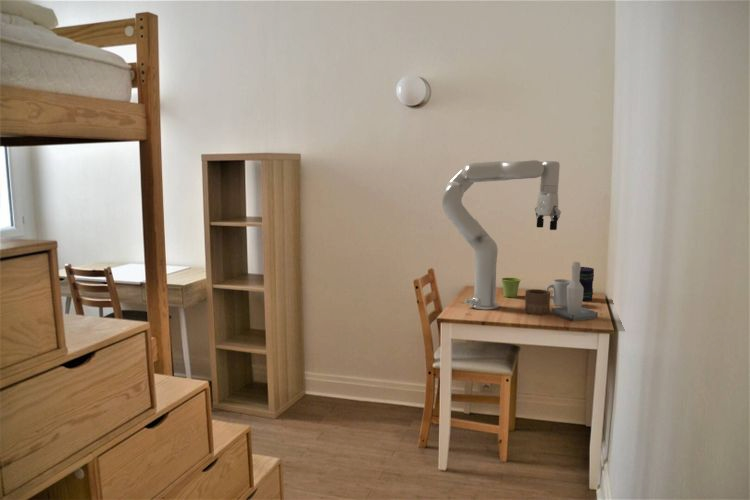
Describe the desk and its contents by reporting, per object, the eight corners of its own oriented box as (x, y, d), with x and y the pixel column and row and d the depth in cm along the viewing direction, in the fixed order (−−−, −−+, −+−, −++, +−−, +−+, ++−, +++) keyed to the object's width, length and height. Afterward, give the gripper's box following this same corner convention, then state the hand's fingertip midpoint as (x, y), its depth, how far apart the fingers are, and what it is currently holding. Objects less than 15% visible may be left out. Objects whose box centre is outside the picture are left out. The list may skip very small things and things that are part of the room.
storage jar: (594, 302, 276) (596, 270, 274) (572, 301, 278) (574, 270, 276) (590, 297, 286) (592, 267, 284) (569, 296, 288) (570, 266, 286)
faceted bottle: (563, 312, 253) (565, 261, 250) (575, 310, 255) (577, 260, 252) (572, 315, 247) (575, 263, 244) (585, 314, 250) (587, 262, 246)
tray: (572, 321, 243) (572, 315, 243) (551, 313, 255) (552, 308, 255) (597, 318, 248) (597, 312, 247) (576, 310, 260) (576, 305, 259)
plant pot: (496, 295, 290) (497, 278, 289) (512, 293, 294) (512, 276, 293) (508, 299, 282) (509, 281, 281) (524, 297, 286) (524, 280, 285)
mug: (567, 302, 276) (569, 279, 275) (574, 306, 268) (575, 282, 266) (542, 302, 276) (543, 279, 274) (548, 306, 268) (549, 283, 266)
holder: (534, 315, 252) (535, 295, 250) (520, 310, 261) (521, 290, 259) (553, 313, 255) (554, 293, 254) (539, 308, 264) (540, 288, 263)
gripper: (530, 188, 265) (527, 226, 267) (553, 190, 249) (551, 231, 251) (544, 188, 267) (541, 226, 270) (568, 190, 251) (565, 230, 254)
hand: (546, 228), depth 260 cm, fingers open, 9 cm apart
